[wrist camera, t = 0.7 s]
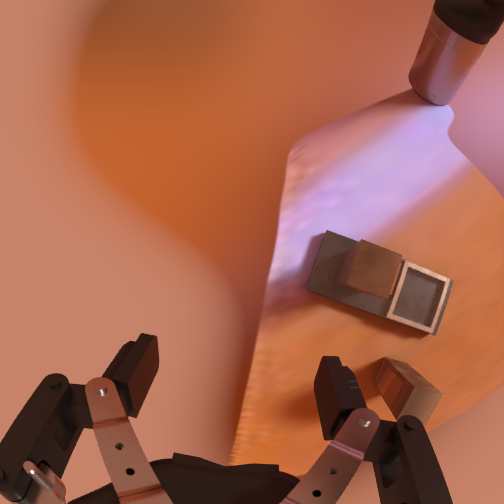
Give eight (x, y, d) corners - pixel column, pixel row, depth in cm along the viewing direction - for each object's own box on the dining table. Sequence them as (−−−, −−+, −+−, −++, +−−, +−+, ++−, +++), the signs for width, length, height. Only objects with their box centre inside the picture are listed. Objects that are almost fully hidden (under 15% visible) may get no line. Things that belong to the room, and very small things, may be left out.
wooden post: (407, 363, 32) (442, 393, 20) (395, 388, 32) (424, 425, 20) (382, 356, 33) (411, 385, 21) (370, 381, 33) (392, 419, 21)
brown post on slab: (448, 280, 32) (503, 279, 19) (431, 333, 32) (480, 355, 19) (325, 231, 36) (336, 205, 23) (305, 288, 36) (305, 294, 23)
